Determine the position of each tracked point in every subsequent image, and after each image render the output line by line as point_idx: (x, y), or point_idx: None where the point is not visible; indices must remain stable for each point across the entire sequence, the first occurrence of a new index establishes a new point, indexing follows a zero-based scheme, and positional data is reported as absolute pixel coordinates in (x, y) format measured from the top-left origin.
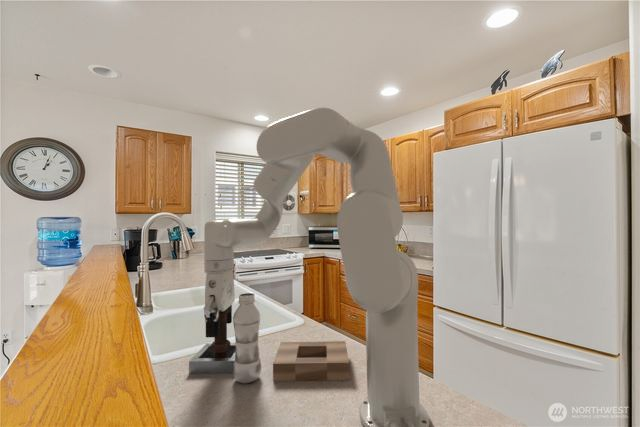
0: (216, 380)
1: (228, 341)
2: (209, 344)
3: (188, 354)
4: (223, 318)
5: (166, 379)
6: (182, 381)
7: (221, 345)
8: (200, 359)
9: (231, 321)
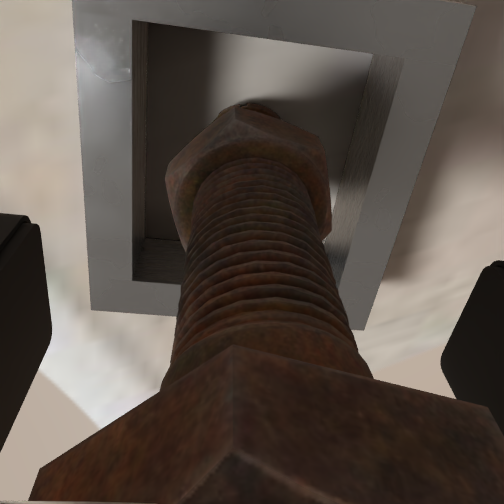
0: (484, 114)
1: (251, 139)
2: (109, 287)
3: (111, 352)
4: (365, 364)
5: (373, 356)
6: (419, 289)
7: (327, 187)
8: (357, 277)
9: (5, 217)
